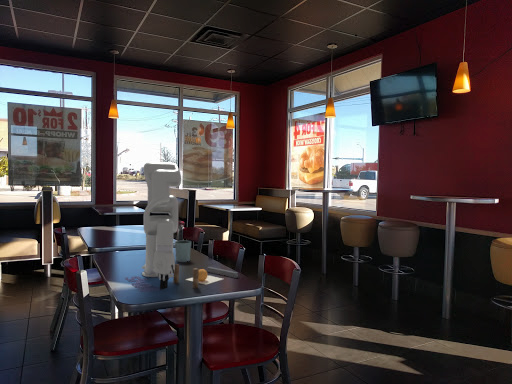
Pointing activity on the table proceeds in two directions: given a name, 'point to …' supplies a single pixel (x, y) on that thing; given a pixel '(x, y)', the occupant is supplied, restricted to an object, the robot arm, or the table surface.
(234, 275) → the wall
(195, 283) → the right post
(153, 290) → the signage
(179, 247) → the pale green bucket
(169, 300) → the table surface
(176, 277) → the left post
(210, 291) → the table surface
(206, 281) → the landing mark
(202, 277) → the ball
